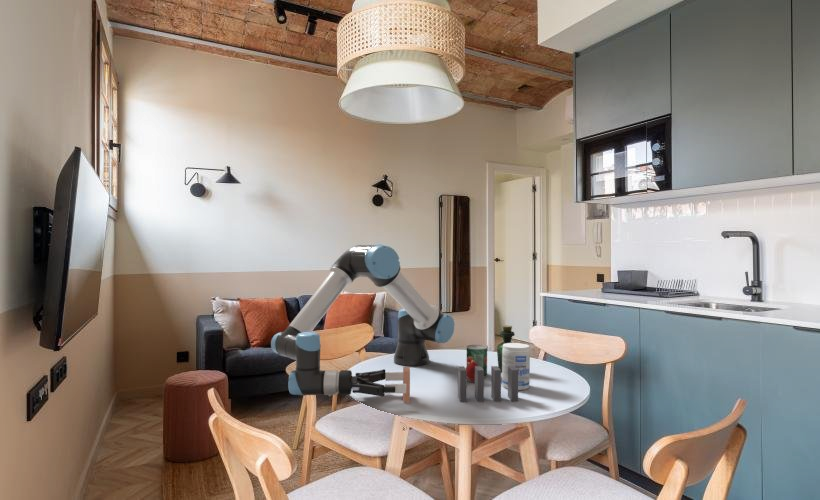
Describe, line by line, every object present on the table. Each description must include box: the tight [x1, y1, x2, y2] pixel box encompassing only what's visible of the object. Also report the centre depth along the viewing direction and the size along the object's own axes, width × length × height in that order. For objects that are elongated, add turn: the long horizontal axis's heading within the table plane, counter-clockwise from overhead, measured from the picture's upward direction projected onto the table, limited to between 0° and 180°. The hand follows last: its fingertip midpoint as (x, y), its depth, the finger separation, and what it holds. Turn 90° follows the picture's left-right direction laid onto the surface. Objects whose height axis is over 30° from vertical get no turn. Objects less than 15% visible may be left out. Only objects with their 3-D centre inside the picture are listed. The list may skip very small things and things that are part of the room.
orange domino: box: [402, 366, 411, 402], centre depth 149 cm, size 2×5×10 cm, turn 3°
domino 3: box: [490, 365, 502, 403], centre depth 151 cm, size 2×5×10 cm, turn 3°
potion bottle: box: [496, 325, 515, 374], centre depth 184 cm, size 8×8×18 cm
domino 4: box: [507, 366, 519, 402], centre depth 151 cm, size 2×5×10 cm, turn 3°
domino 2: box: [474, 366, 485, 403], centre depth 150 cm, size 2×5×10 cm, turn 3°
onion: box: [465, 360, 478, 383], centre depth 169 cm, size 6×6×8 cm
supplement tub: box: [501, 342, 531, 391], centre depth 164 cm, size 10×10×15 cm
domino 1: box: [457, 365, 468, 403], centre depth 150 cm, size 2×5×10 cm, turn 3°
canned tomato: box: [466, 344, 488, 379], centre depth 179 cm, size 8×8×11 cm
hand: (405, 382), depth 149 cm, fingers open, 13 cm apart
